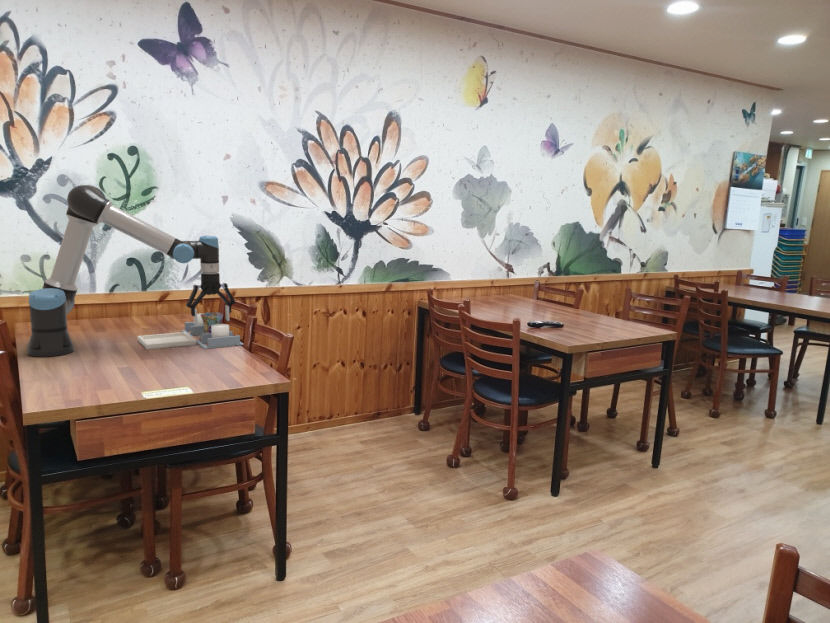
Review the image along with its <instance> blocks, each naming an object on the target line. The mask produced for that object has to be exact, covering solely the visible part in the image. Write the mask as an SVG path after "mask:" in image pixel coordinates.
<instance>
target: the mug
mask: <svg viewBox="0 0 830 623" xmlns="http://www.w3.org/2000/svg"><path fill="white" fill-rule="evenodd" d="M201 317H202V320H203V323H204V333H203V334H205V333H211V325H214V324H222V320H223V317H224V313H222V312H205V313H204V312H203V314H201Z"/></svg>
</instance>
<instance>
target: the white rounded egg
mask: <svg viewBox="0 0 830 623" xmlns="http://www.w3.org/2000/svg"><path fill="white" fill-rule="evenodd" d="M229 331H230V324H226V323H221V324H214V325H211V334H212V338H217V337H227V336H229Z"/></svg>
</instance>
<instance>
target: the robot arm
mask: <svg viewBox="0 0 830 623" xmlns="http://www.w3.org/2000/svg"><path fill="white" fill-rule="evenodd" d="M66 202H67V205H68V206H67V209H66V213H65V215H66V217H67V218H68V222H67V224H66V228H65V231H64V233H63V237H62V241H61V243H60V246H59V249H58V253H57V256H56V259H55V262H54V265H53V268H52V272H51V275H50V277H49V278H46V279H45V280H44V282H43V286H42V288H38V289H35V290H33V291H31V292H30V293H29V295H28V304H29V305H28V306H29V316H30V329H31V334H30V337H29V340H28V344H27V349H26V350H27V355H28V356H32V357H39V358H40V357H41V358H44V357H45V358H46V357H48V358H49V357H57V356H63V355H68V354H71V353H72V352H74V351H75V346H74V343H73V340H72V338H71V336H70V333H69V331H68V319H67V318H68V317H67V316H68V314H69V313H70V312H71V311H72V310H73V309H74V306H75V304H76V303H75V301H76V300H75V298H76V296H77V293H78V287H77V285H76V281H77V278H78V274H79V272H80V269H81V265H82V262H83V260H84V257H85V253H86V250H87V246H88V244H89V240H90V237H91V235H92V231H93V228H94V227H95V226H98V225H99V224H102V223H103V224H104V225H107V226H109V227H110V228H113V229H114V230H117V231H118V232H120V233H122V234H124V235H127V236H129V237H130V238H133V239H135V240H137V241H139V242H141V243H143V244H145V245H147V246H148V247H150V248H152V249H154V250H156V251H158V252H161V253H163V254H164V255H166V256H168V257H169V259H171V260H175V261H176V262H178V263H180V264H187V263H190V262H191V261H192V260H200V272H201V273H200V285H198V284H194V285H193V288H192V290H191V293H190V296H189V298H188V299H187V301H186V304H185V306H186V307H187V308H190V315H191V316H192V317H193V322H194V323H195V324H197V314H198V308H197V306H198V305H199V303H200V302H201V301H202V300H203V298H204V297H205V296H206V295H208V296H211V295H213V296H215V295H218V296H219V297H220V298H221V300H223V302H224V303H225V306H224V308H225V309H224V310H225V320H226V321H227V322H230V313H232V306H233V305H235V304H236V303H237V302H236V301H235V298H234V297H233V295H232V293H231V292H230V290H229V286H228V284H227V283H225V282H223V283H221V281H220V279H221V277H220V251H219V250H220V249H219V248H220V246H219V238H218V237H217V236H214V235H200V236H199V239H198V240H180V239H178V238H176V237H175V236H173V235H171V234H169V233H166V232H165V231H162V230H161V229H159V228H157V227H156V226H153V225H151V224H149V223H148V222H146V221H144V220H142V219H140V218H139V217H136V216H135V215H132V214H130V213H128V212H127V211H125V210H123V209H121V208H119V207H117V206H116V205H113V202H112V201H111V200H109V199H108V198H107V197H106V195H105V194H104V192H103V191H102V190H101V189H100V188H98V187H96V186H94V185H90V184H84V185H82V184H80V185H77V186H76V185H75V187H73V188H72V189H70V191H69V192H68V194H67V199H66ZM221 288H222V289H223V290H224V292H225V294H226V296H227V297H226V296H225V295H224V294H223V293H222V292H221V291H220V289H221ZM200 289H201V292H200V293H199V295H198V296H197V294H198V291H199V290H200ZM196 296H197V297H196ZM195 297H196V298H195ZM228 299H229V300H228Z"/></svg>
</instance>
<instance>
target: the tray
mask: <svg viewBox="0 0 830 623" xmlns="http://www.w3.org/2000/svg"><path fill="white" fill-rule="evenodd" d="M189 334H190V333H189ZM189 334H187V333H186V332H182V331H181V332H168V333H167V332H166V333H159V334H146V335H137V342H139V344H140V345H141V346H142V347H143V348H145V350H146V351H148V350H149V351H150V350H159V349H170V347H171V348H176V347H177V348H178V347H179V348H181V347H187V346H188V347H190V346H196V345H197V343H196V340H195V339H194V338H193V337H191V336H190V335H189Z"/></svg>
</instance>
